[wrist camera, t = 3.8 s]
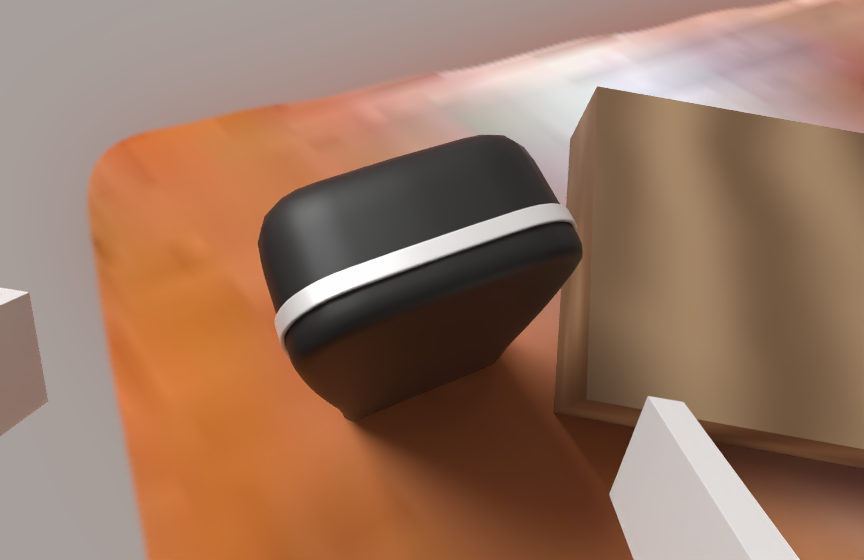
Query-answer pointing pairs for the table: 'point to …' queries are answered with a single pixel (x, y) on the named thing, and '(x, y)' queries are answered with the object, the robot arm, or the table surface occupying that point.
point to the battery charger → (414, 269)
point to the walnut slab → (717, 274)
